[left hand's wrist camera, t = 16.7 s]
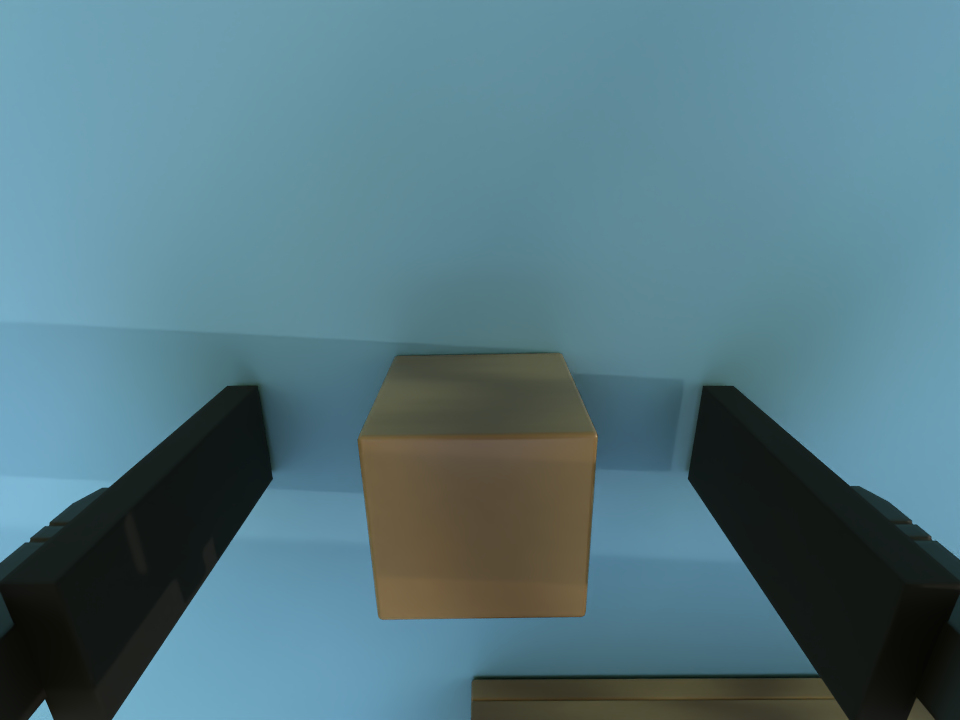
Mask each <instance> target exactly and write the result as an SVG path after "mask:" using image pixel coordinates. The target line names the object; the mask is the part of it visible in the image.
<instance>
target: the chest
mask: <svg viewBox="0 0 960 720" xmlns="http://www.w3.org/2000/svg"><path fill="white" fill-rule="evenodd" d="M471 720H849V719H848V718H847V716H846V715H845V713H844V712H843V710H842V709H841V707H840V706H839V704H838V703H837V701H836V700H835V698H834V697H833V695H832V694H831V692H830V691H829V689H828V688H827V686H826V685H825V683H824V682H823V680H822V679H821V678H688V679H487V680H473V681H472V689H471ZM907 720H935V719H934V718H933V716H932V715H931V714H930V713H929V712H928V710H927V709H926V708H925V707H924V706H923V704H922V703H921V702H920V701H919V699H918V698H917V697H916V700H915V702H914V704H913V707H912V709H911V712H910V714H909V716H908V719H907Z"/></svg>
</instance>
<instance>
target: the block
mask: <svg viewBox="0 0 960 720" xmlns="http://www.w3.org/2000/svg"><path fill="white" fill-rule="evenodd" d="M597 441H598V435H597V432H596V430H595V428H594V426H593V423H592V421H591V419H590V416H589V414H588V412H587V410H586V407H585V405H584V403H583V401H582V398H581V396H580V394H579V391H578V389H577V387H576V385H575V382H574V380H573V378H572V376H571V373H570V371H569V369H568V366H567V364H566V362H565V360H564V357H563V355H562V354H560V353H536V354H480V355H425V356H396V357H394V360H393V362H392V364H391V366H390V368H389V371H388V373H387V375H386V377H385V379H384V382H383V384H382V386H381V388H380V390H379V393H378V395H377V397H376V399H375V401H374V404H373V406H372V408H371V410H370V413H369V415H368V417H367V419H366V421H365V424H364V426H363V428H362V430H361V432H360V435H359V437H358V448H359V457H360V466H361V474H362V483H363V491H364V500H365V508H366V517H367V526H368V534H369V543H370V551H371V560H372V568H373V577H374V585H375V594H376V603H377V611H378V617H379V618H380V619H382V620H395V619H466V618H536V617H582V616H584V615H585V612H586V600H587V586H588V571H589V557H590V542H591V528H592V513H593V499H594V484H595V470H596V455H597Z"/></svg>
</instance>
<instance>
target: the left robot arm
mask: <svg viewBox="0 0 960 720" xmlns="http://www.w3.org/2000/svg"><path fill="white" fill-rule="evenodd" d="M272 479H273V477H272V471H271V465H270V459H269V453H268V447H267V441H266V435H265V429H264V423H263V417H262V410H261V404H260V398H259V392H258V386H227V387H226V388H224V389H223V390H222V391H221V392H220V393H219V394H217V395H216V396H215V397H214V398H213V399H212V400H210V401H209V402H208V403H207V404H206V405H205V406H203V407H202V408H201V409H200V410H199V411H198V412H196V413H195V414H194V415H193V416H192V417H191V418H189V419H188V420H187V421H186V422H185V423H184V424H183V425H181V426H180V427H179V428H178V429H177V430H176V431H174V432H173V433H172V434H171V435H170V436H169V437H167V438H166V439H165V440H164V441H163V442H162V443H160V444H159V445H158V446H157V447H156V448H155V449H153V450H152V451H151V452H150V453H149V454H148V455H146V456H145V457H144V458H143V459H142V460H141V461H139V462H138V463H137V464H136V465H135V466H134V467H132V468H131V469H130V470H129V471H128V472H127V473H125V474H124V475H123V476H122V477H121V478H120V479H118V480H117V481H116V482H115V483H114V484H113V485H111V486H110V487H109V488H101V489H99V490H97V491H95V492H94V493H92V494H90V495H88V496H86V497H84V498H82V499H80V500H79V501H77V502H75V503H73V504H72V505H70V506H69V507H68V508H67V509H65V510H64V511H63V512H62V513H61V514H59V515H58V516H57V517H56V518H55V519H53V520H52V521H51V522H50V525H49V526H45V527H44V528H42V529H41V530H40V531H39V532H37V533H36V534H35V535H34V536H33V537H31V538H30V542H29V543H24V544H23V545H22V546H20V547H19V548H18V549H17V550H16V551H14V552H13V553H12V554H11V555H9V556H8V557H7V558H6V559H5V560H3V561H2V562H1V563H0V720H28V719H29V718H30V717H31V715H32V714H33V713H34V712H35V711H36V709H37V708H38V707H39V706H40V705H41V703H42V702H43V701H44V700H46V702H47V705H48V707H49V709H50V712H51V714H52V717H53V719H54V720H112V719H113V717H114V716H115V714H116V713H117V711H118V710H119V708H120V707H121V705H122V704H123V702H124V701H125V699H126V698H127V696H128V695H129V693H130V692H131V690H132V689H133V687H134V686H135V684H136V683H137V681H138V680H139V678H140V677H141V675H142V674H143V672H144V671H145V669H146V668H147V666H148V665H149V663H150V662H151V660H152V659H153V657H154V656H155V654H156V653H157V651H158V650H159V648H160V647H161V645H162V644H163V642H164V641H165V639H166V638H167V636H168V635H169V633H170V632H171V630H172V629H173V627H174V626H175V624H176V623H177V621H178V620H179V618H180V617H181V615H182V614H183V612H184V611H185V609H186V608H187V606H188V605H189V603H190V602H191V600H192V599H193V597H194V596H195V594H196V593H197V591H198V590H199V588H200V587H201V585H202V584H203V582H204V581H205V579H206V578H207V576H208V575H209V573H210V572H211V570H212V569H213V567H214V566H215V564H216V563H217V562H218V560H219V559H220V557H221V556H222V554H223V553H224V551H225V550H226V548H227V547H228V545H229V544H230V542H231V541H232V539H233V538H234V536H235V535H236V533H237V532H238V530H239V529H240V527H241V526H242V524H243V523H244V521H245V520H246V518H247V517H248V515H249V514H250V512H251V511H252V509H253V508H254V506H255V505H256V503H257V502H258V500H259V499H260V497H261V496H262V494H263V493H264V491H265V490H266V488H267V487H268V485H269V484H270V482H271V481H272ZM688 480H689V481H690V483H691V484H692V486H693V487H694V489H695V490H696V492H697V493H698V495H699V496H700V498H701V499H702V501H703V502H704V504H705V505H706V507H707V508H708V510H709V511H710V513H711V514H712V516H713V517H714V519H715V520H716V522H717V523H718V525H719V526H720V528H721V529H722V531H723V532H724V534H725V535H726V537H727V538H728V540H729V541H730V543H731V544H732V546H733V547H734V549H735V550H736V552H737V553H738V555H739V556H740V558H741V559H742V561H743V562H744V564H745V565H746V567H747V568H748V570H749V571H750V573H751V574H752V575H753V577H754V578H755V580H756V581H757V583H758V584H759V586H760V587H761V589H762V590H763V592H764V593H765V595H766V596H767V598H768V599H769V601H770V602H771V604H772V605H773V607H774V608H775V610H776V611H777V613H778V614H779V616H780V617H781V619H782V620H783V622H784V623H785V625H786V626H787V628H788V629H789V631H790V632H791V634H792V635H793V637H794V638H795V640H796V641H797V643H798V644H799V646H800V647H801V649H802V650H803V652H804V653H805V655H806V656H807V658H808V659H809V661H810V662H811V664H812V665H813V667H814V668H815V670H816V671H817V673H818V674H819V676H820V677H821V679H822V680H823V682H824V683H825V685H826V686H827V688H828V689H829V691H830V692H831V694H832V695H833V697H834V698H835V700H836V701H837V703H838V704H839V706H840V707H841V709H842V710H843V712H844V713H845V715H846V716H847V718H848V719H849V720H907V719H908V716H909V714H910V712H911V709H912V707H913V704H914V702H915V700H916V697H917V698H918V699H919V701H920V702H921V703H922V704H923V706H924V707H925V708H926V709H927V710H928V712H929V713H930V714H931V715H932V716H933V718H934V719H935V720H960V560H959V559H958V558H957V557H956V556H955V555H953V554H952V553H951V552H950V551H948V550H947V549H946V548H945V547H944V546H942V545H941V544H940V543H939V542H937V541H932V539H931V536H930V535H929V534H928V533H926V532H925V531H924V530H923V529H921V528H920V527H919V526H918V525H913V524H912V520H910V519H909V518H908V517H907V516H905V515H904V514H903V513H902V512H901V511H899V510H898V509H897V508H896V507H894V506H893V505H892V504H891V503H890V502H888V501H886V500H884V499H882V498H880V497H879V496H877V495H875V494H873V493H871V492H869V491H867V490H865V489H863V488H862V487H860V486H849V485H848V484H847V483H846V482H845V481H843V480H842V479H841V478H840V477H839V476H838V475H836V474H835V473H834V472H833V471H832V470H831V469H829V468H828V467H827V466H826V465H825V464H824V463H822V462H821V461H820V460H819V459H818V458H817V457H815V456H814V455H813V454H812V453H811V452H810V451H808V450H807V449H806V448H805V447H804V446H803V445H801V444H800V443H799V442H798V441H797V440H796V439H794V438H793V437H792V436H791V435H790V434H789V433H788V432H786V431H785V430H784V429H783V428H782V427H781V426H779V425H778V424H777V423H776V422H775V421H774V420H772V419H771V418H770V417H769V416H768V415H767V414H765V413H764V412H763V411H762V410H761V409H760V408H758V407H757V406H756V405H755V404H754V403H753V402H751V401H750V400H749V399H748V398H747V397H746V396H744V395H743V394H742V393H741V392H740V391H739V390H737V389H736V388H735V387H734V386H703V391H702V397H701V403H700V409H699V415H698V421H697V427H696V433H695V439H694V445H693V451H692V457H691V463H690V469H689V475H688Z"/></svg>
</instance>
